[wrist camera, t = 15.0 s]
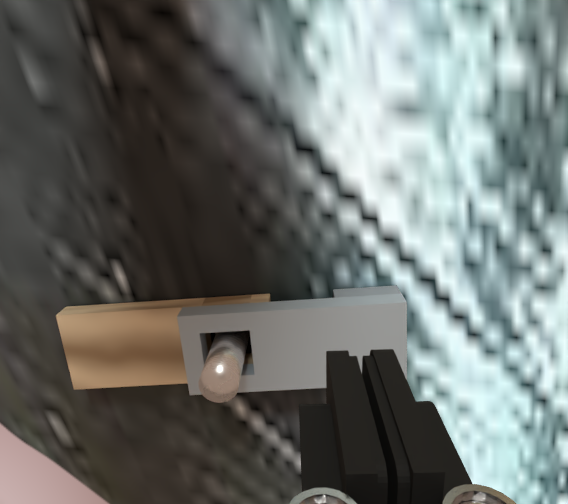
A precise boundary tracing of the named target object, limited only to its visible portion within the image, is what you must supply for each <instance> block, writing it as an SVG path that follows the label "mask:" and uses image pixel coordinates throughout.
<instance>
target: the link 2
mask: <svg viewBox="0 0 568 504" xmlns="http://www.w3.org/2000/svg"><path fill="white" fill-rule="evenodd" d="M177 320H178V326H179V332H180V338H181V344H182V351H183V357H184V363H185V369H186V375H187V382H188V388H189V394H190V395H202V394H201V392H200V390H199V386H198V382H199V378H200V376H201V373H202V370H203V367H204V365H205V362H206V359H207V356H208V350H207V343H206V336H205V333H214V332H231V331H247V330H250V338H251V347H252V356H253V364H243V369H242V374H241V378H240V383H239V388H238V392H237V393H239V392H257V391H276V390H294V389H313V388H326V351H342V350H348V352H349V356H357V358H358V362H359V366H360V369H361V373H362V358H363V356H369V355H370V351H371V350H378V349H393V350H394V352H395V354H396V356H397V359H398V361H399V363H400V366H401V368H402V371H403V373H404V375H405V378H406V380H407V302H406V300H405V299H404V297H403V295H402V293H401V292H400V290H399V288H398V287H397V285H395V286H380V287H364V288H349V289H333V298H322V299H306V300H290V301H275V302H259V303H243V304H227V305H212V306H196V307H182V309H181V311H180V312H179V314H178V316H177Z"/></svg>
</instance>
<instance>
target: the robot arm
mask: <svg viewBox="0 0 568 504" xmlns="http://www.w3.org/2000/svg"><path fill="white" fill-rule="evenodd" d="M326 399H327V404H305V405H299V416H300V447H301V476H302V493H300V494H299V495H297V496H296V497H294V498H293V500H292V501H291V502H290V503H289V504H516V503H515V502H514V501H513V500H512V499H510V498H509V497H507V496H506V495H504V494H503V493H501V492H499V491H497V490H494V489H492V488H490V487H486V486H481V485H477V484H472V482H471V480H470V478H469V476H468V474H467V472H466V469H465V467H464V465H463V463H462V461H461V459H460V457H459V455H458V453H457V451H456V449H455V447H454V444H453V442H452V440H451V438H450V436H449V434H448V432H447V430H446V428H445V426H444V424H443V422H442V419H441V417H440V415H439V413H438V411H437V409H436V407H435V405H434V404H433V403H432V402H431V401H420V402H416V401H415V399H414V397H413V394H412V392H411V389H410V387H409V385H408V382H407V380H406V378H405V375H404V373H403V371H402V368H401V366H400V363H399V361H398V359H397V356H396V354H395V352H394V350H393V349H378V350H371V351H370V355H369V356H363V358H362V373H361V369H360V366H359V362H358V358H357V356H349V352H348V350H342V351H326Z"/></svg>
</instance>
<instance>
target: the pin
mask: <svg viewBox="0 0 568 504" xmlns="http://www.w3.org/2000/svg"><path fill="white" fill-rule="evenodd" d="M249 334H250V332H249V330H247V331H231V332H216V334H215V337H214V340H213V342H212V345H211V348H210V351H209V354H208V356H207V359H206V362H205V365H204V367H203V370H202V373H201V376H200V378H199V382H198V386H199V390H200V392H201V394H202V395H203V396H204V397H205V398H206V399H208V400H210V401H213V402H218V403H222V402H227V401H229V400H231V399H232V398H233V397H234V396H235V395H236V394H237V392H238V388H239V383H240V378H241V374H242V369H243V364H244V359H245V354H246V349H247V344H248V340H249Z"/></svg>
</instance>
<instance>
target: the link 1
mask: <svg viewBox="0 0 568 504" xmlns="http://www.w3.org/2000/svg"><path fill="white" fill-rule="evenodd" d="M259 302H271V298H270V294H255V295H240V296H224V297H209V298H193V299H177V300H162V301H146V302H131V303H115V304H100V305H84V306H69V307H65V308H64V309H63V310H62V311H60V312H59V313H58V314H57V315H56V318H57V322H58V326H59V330H60V335H61V339H62V343H63V347H64V351H65V355H66V359H67V363H68V367H69V371H70V375H71V379H72V383H73V387H74V390H75V389H93V388H111V387H130V386H148V385H166V384H184V383H188V382H187V375H186V369H185V363H184V357H183V351H182V344H181V338H180V332H179V326H178V320H177V316H178V314H179V312H180V311H181V309H182V307H196V306H212V305H227V304H243V303H259ZM205 336H206V343H207V350H208V354H209V351H210V348H211V345H212V341H211V334H210V333H205ZM244 364H253V356H252V353H246V354H245V359H244Z"/></svg>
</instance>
